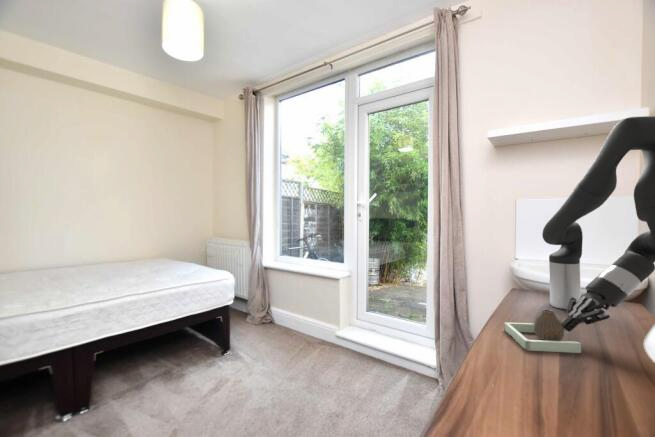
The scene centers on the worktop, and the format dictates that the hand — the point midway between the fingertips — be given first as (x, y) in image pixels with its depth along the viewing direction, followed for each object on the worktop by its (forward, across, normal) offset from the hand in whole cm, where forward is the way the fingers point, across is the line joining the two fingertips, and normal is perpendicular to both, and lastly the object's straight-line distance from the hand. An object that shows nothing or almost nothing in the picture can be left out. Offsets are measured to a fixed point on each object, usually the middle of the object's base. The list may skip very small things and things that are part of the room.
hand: (564, 328), depth 82 cm
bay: (+7, 0, -2) cm, 7 cm away
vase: (+6, 0, 0) cm, 6 cm away
